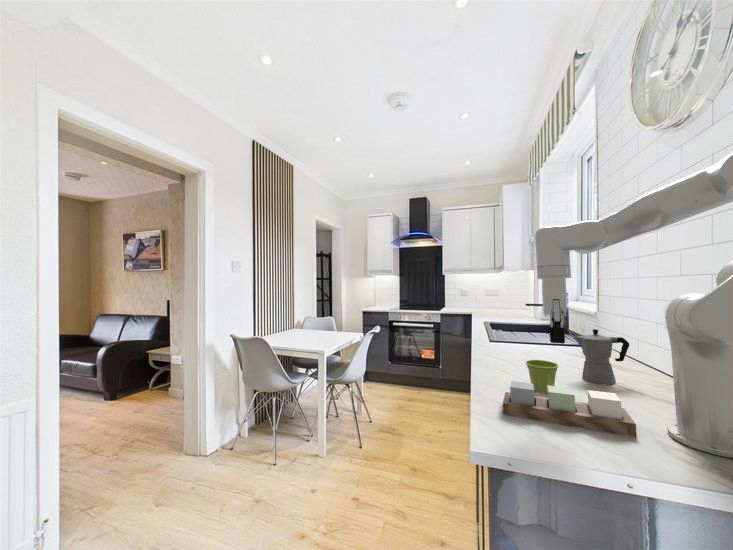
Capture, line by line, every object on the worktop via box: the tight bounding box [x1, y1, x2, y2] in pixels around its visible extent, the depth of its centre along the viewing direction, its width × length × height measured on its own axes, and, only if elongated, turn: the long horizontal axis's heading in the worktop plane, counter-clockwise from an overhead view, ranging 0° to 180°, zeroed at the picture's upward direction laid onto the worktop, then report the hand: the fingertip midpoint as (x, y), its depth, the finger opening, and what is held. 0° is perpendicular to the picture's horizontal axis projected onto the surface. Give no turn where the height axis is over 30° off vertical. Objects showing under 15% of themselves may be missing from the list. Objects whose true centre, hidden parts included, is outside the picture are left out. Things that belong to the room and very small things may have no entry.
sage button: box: [547, 385, 576, 412], centre depth 75 cm, size 6×6×5 cm
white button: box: [587, 389, 623, 419], centre depth 71 cm, size 6×6×5 cm
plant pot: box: [524, 359, 560, 394], centre depth 94 cm, size 9×9×9 cm
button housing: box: [502, 391, 638, 438], centre depth 75 cm, size 27×9×3 cm, turn 60°
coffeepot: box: [572, 328, 630, 385], centre depth 101 cm, size 15×9×18 cm, turn 56°
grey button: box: [509, 380, 535, 406], centre depth 79 cm, size 6×6×5 cm
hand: (557, 342), depth 76 cm, fingers closed
